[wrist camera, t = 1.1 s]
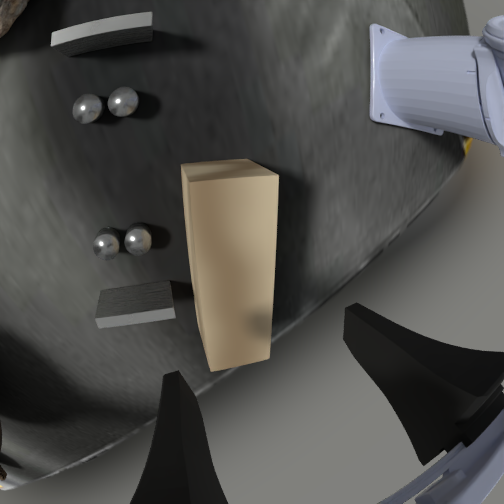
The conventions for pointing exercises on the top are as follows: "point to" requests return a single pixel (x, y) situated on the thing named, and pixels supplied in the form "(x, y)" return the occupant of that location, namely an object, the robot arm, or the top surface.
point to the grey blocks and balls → (122, 104)
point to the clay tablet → (10, 13)
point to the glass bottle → (0, 436)
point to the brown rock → (2, 473)
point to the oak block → (232, 256)
